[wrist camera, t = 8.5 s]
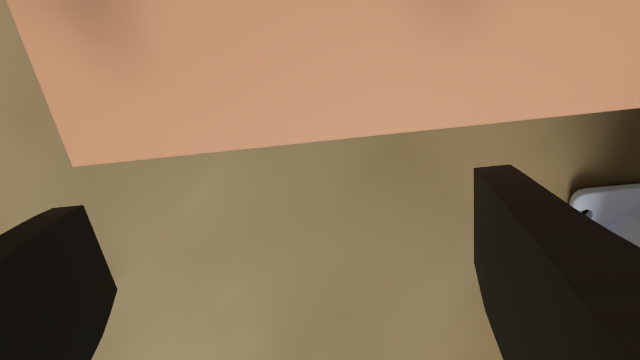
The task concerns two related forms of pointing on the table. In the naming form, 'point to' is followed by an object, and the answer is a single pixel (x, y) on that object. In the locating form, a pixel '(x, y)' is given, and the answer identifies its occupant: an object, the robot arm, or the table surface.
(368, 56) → the lid
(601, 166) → the table surface
